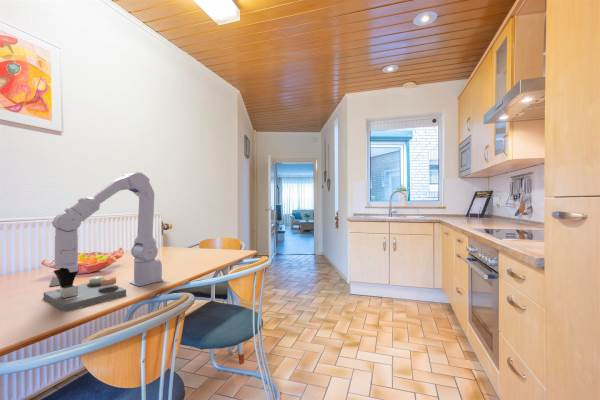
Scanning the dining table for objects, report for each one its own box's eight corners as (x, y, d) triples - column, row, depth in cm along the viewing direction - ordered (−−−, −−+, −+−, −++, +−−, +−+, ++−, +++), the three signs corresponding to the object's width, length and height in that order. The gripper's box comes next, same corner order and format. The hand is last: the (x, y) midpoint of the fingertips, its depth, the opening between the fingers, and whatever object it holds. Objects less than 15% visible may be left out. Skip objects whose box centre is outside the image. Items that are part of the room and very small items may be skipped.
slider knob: (74, 293, 90) (74, 283, 90) (77, 294, 88) (77, 285, 88) (60, 296, 87) (60, 286, 87) (63, 298, 85) (63, 288, 85)
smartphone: (49, 286, 103) (52, 277, 114) (49, 288, 103) (52, 279, 114) (72, 282, 107) (73, 274, 119) (72, 285, 107) (73, 276, 119)
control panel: (102, 285, 105) (102, 278, 105) (126, 295, 94) (126, 287, 94) (43, 298, 91) (43, 290, 91) (63, 311, 80) (63, 303, 80)
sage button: (101, 280, 103) (101, 275, 103) (106, 282, 100) (106, 277, 100) (87, 283, 99) (87, 278, 99) (92, 285, 96) (92, 280, 96)
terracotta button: (112, 281, 97) (112, 276, 97) (118, 283, 94) (118, 278, 94) (98, 284, 93) (98, 279, 93) (103, 286, 91) (103, 281, 91)
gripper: (43, 249, 90) (43, 290, 89) (57, 253, 81) (57, 298, 81) (70, 246, 95) (70, 284, 95) (86, 250, 87) (86, 292, 87)
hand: (66, 290), depth 89 cm, fingers closed
